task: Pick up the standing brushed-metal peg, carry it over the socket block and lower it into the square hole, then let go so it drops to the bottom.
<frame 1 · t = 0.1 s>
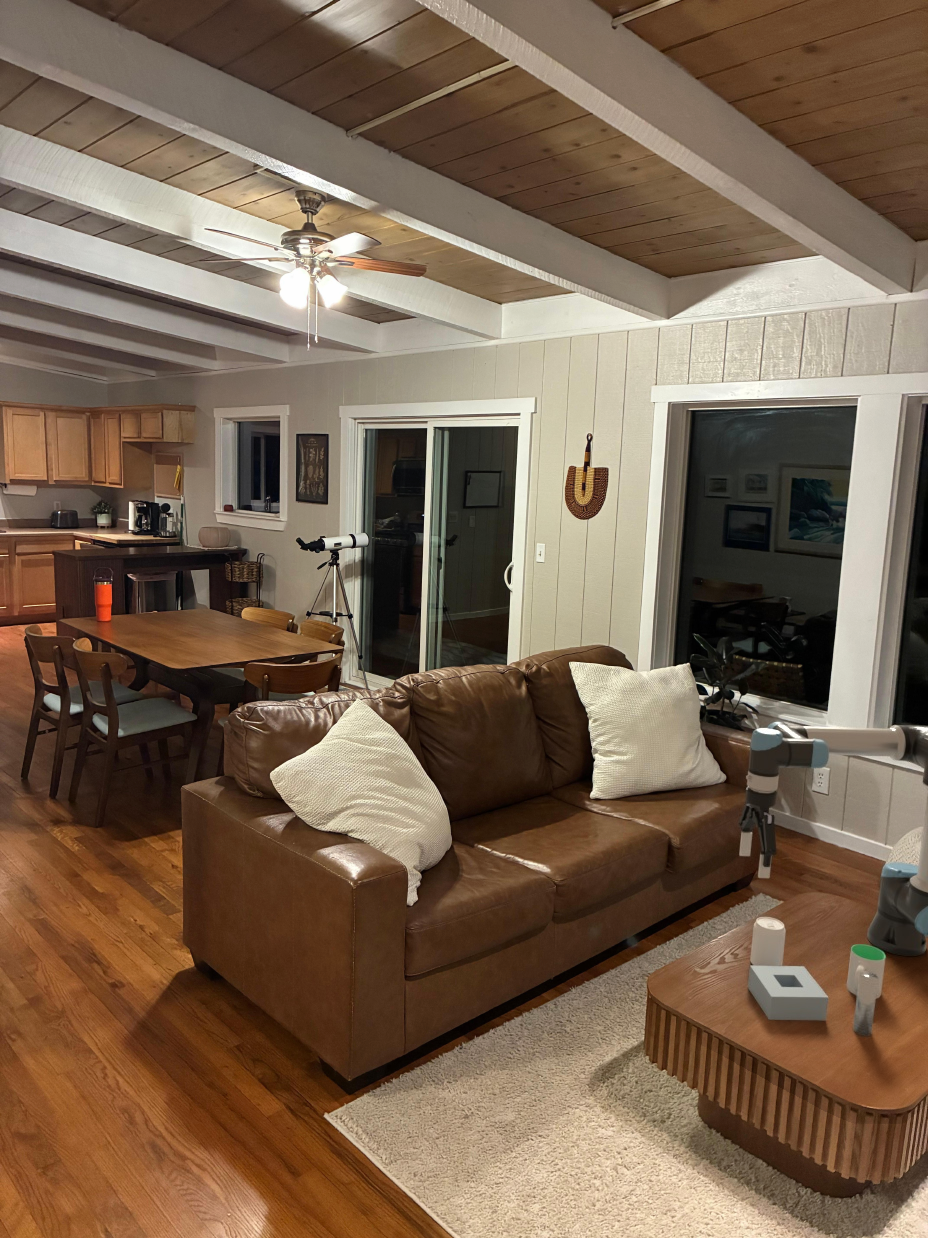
hand: (753, 866, 238), 28 cm above the table, fingers open, 13 cm apart
socket block: (785, 1003, 225), on the table
peg: (862, 1031, 215), on the table
beverage can: (765, 966, 243), on the table
mug: (861, 994, 231), on the table
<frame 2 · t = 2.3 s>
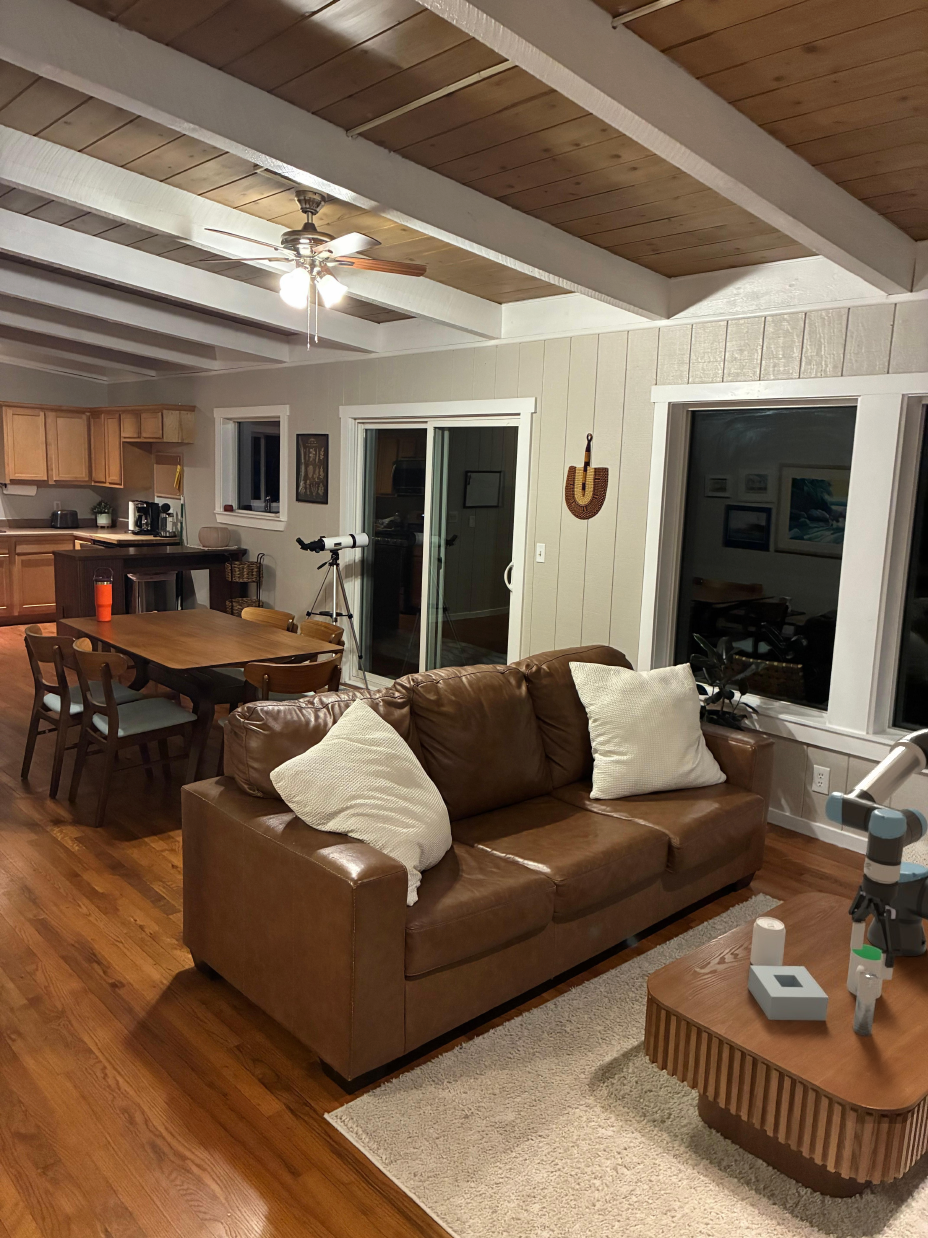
hand: (870, 963, 212), 17 cm above the table, fingers open, 13 cm apart
nothing on the table moved.
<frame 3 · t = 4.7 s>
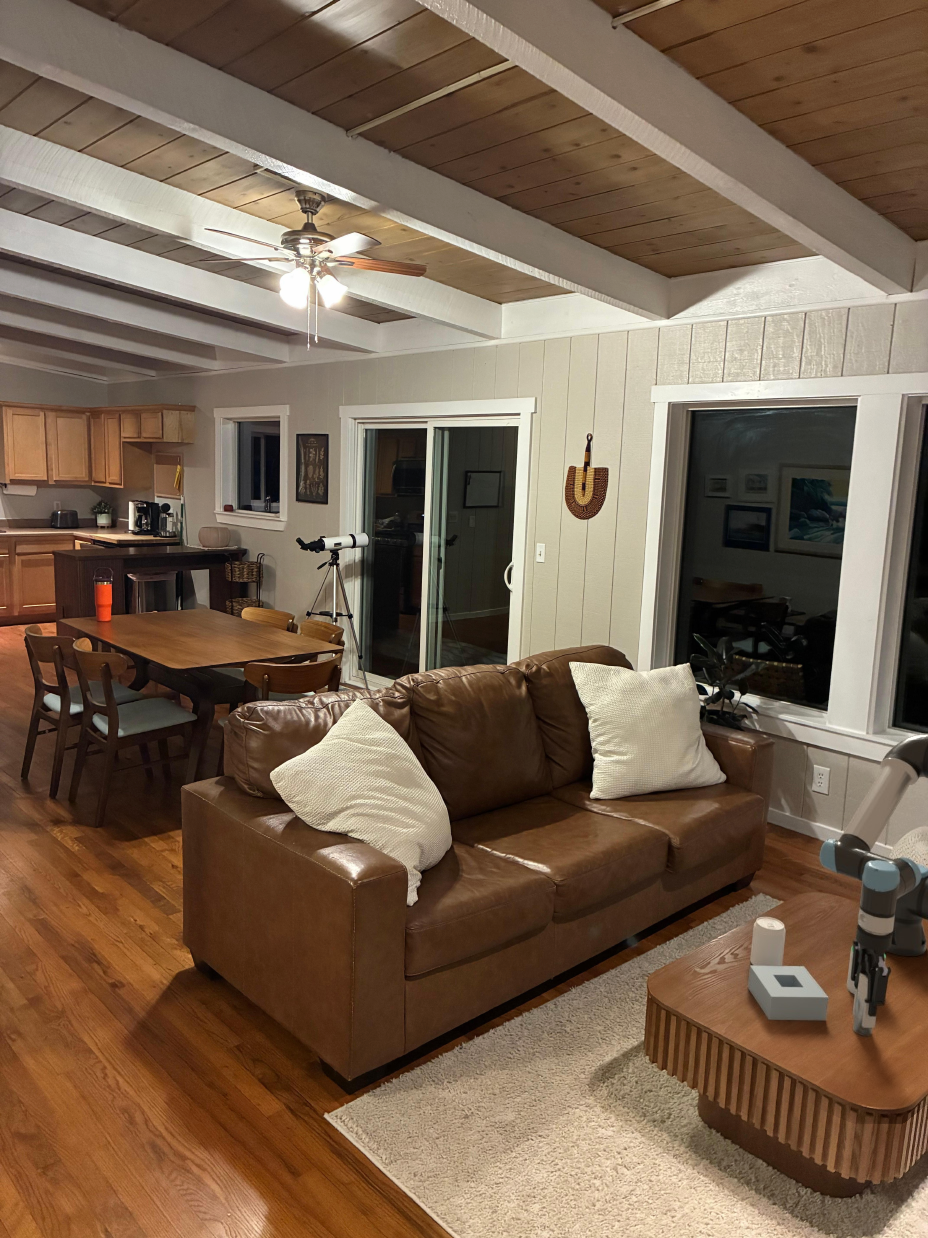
hand: (863, 1020, 214), 3 cm above the table, fingers closed on peg, 4 cm apart
peg: (862, 1031, 215), on the table, touching gripper
everything else where it was.
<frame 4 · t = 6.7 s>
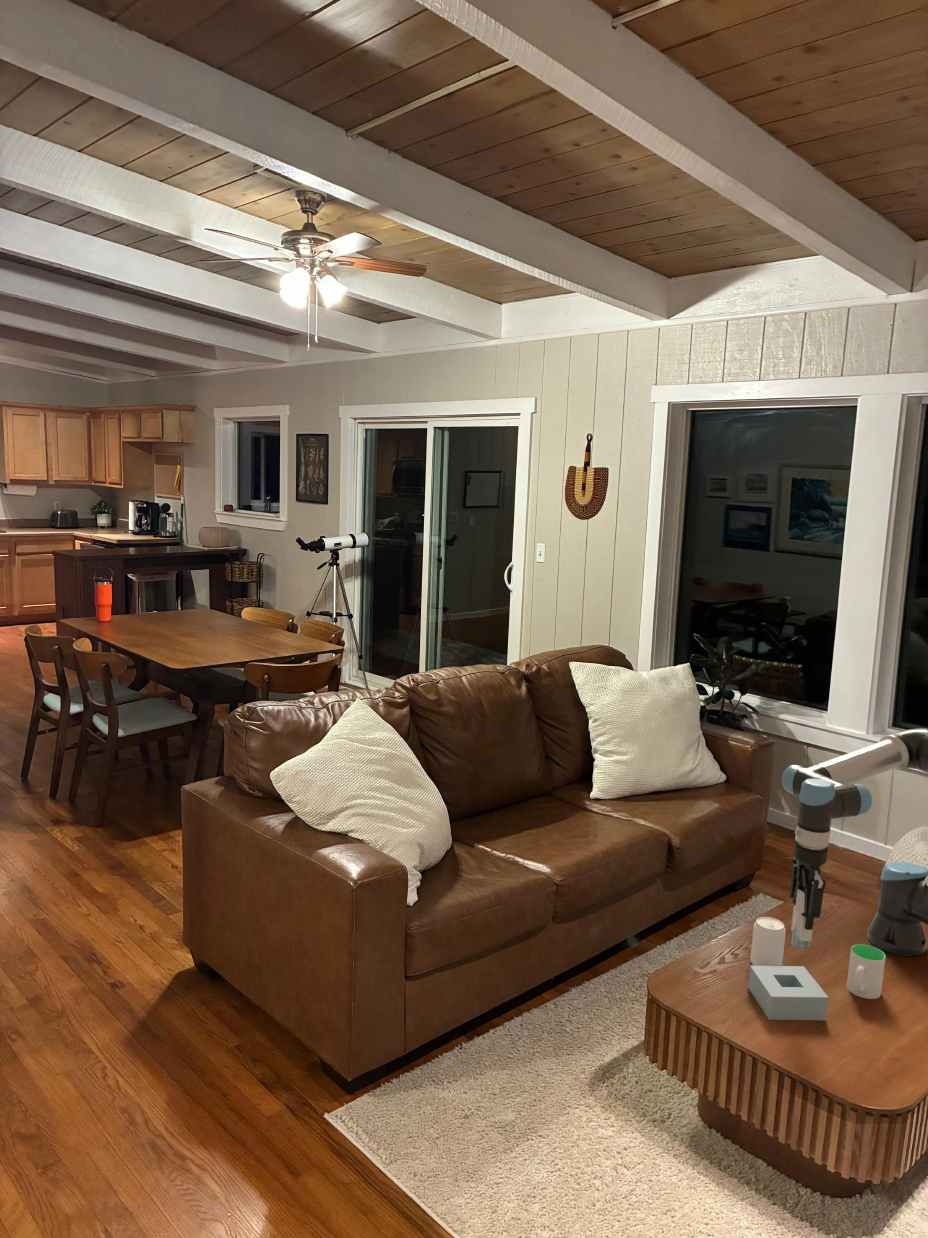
hand: (801, 935, 221), 19 cm above the table, fingers closed on peg, 4 cm apart
peg: (799, 945, 221), point 16 cm above the table, touching gripper
everything else where it was.
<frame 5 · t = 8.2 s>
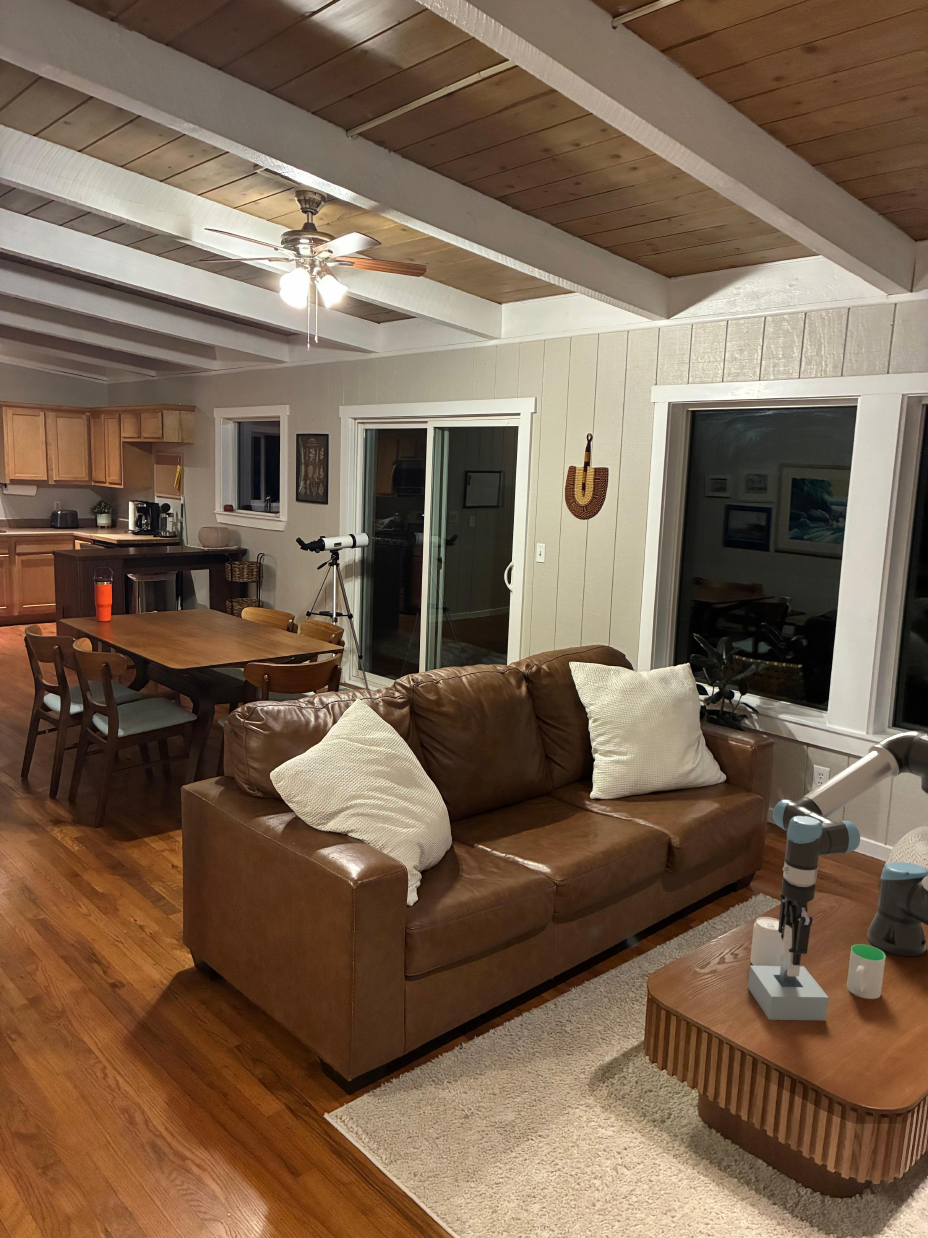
hand: (789, 970, 224), 9 cm above the table, fingers closed on peg, 4 cm apart
peg: (787, 980, 224), point 6 cm above the table, touching gripper
everything else where it was.
when the fingers open (7 cm above the table, at t = 9.1 s): peg drops 3 cm, resting on socket block.
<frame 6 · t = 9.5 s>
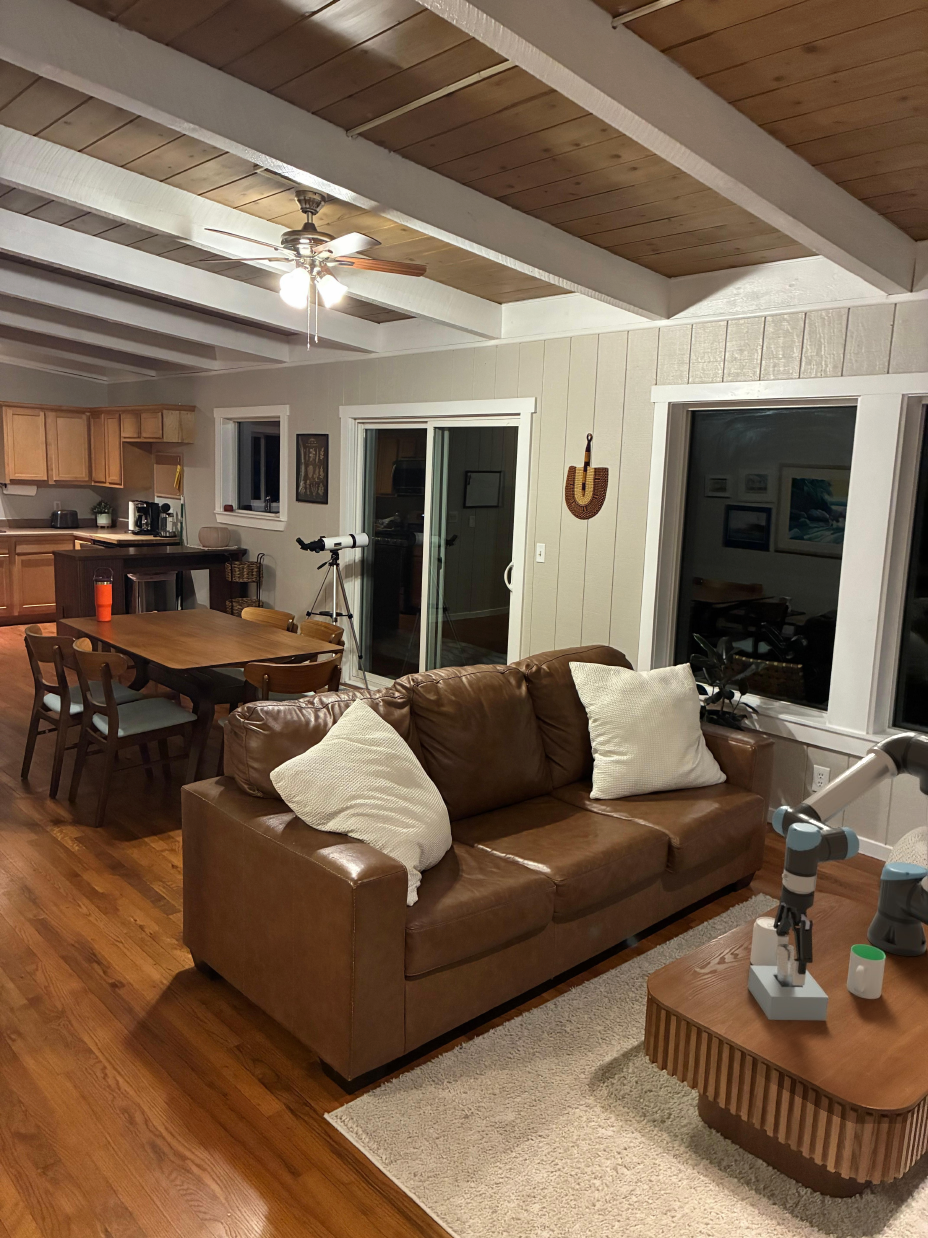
hand: (789, 972, 224), 8 cm above the table, fingers open, 10 cm apart
peg: (785, 1001, 225), point 1 cm above the table, tilted 5°, touching socket block
everything else where it was.
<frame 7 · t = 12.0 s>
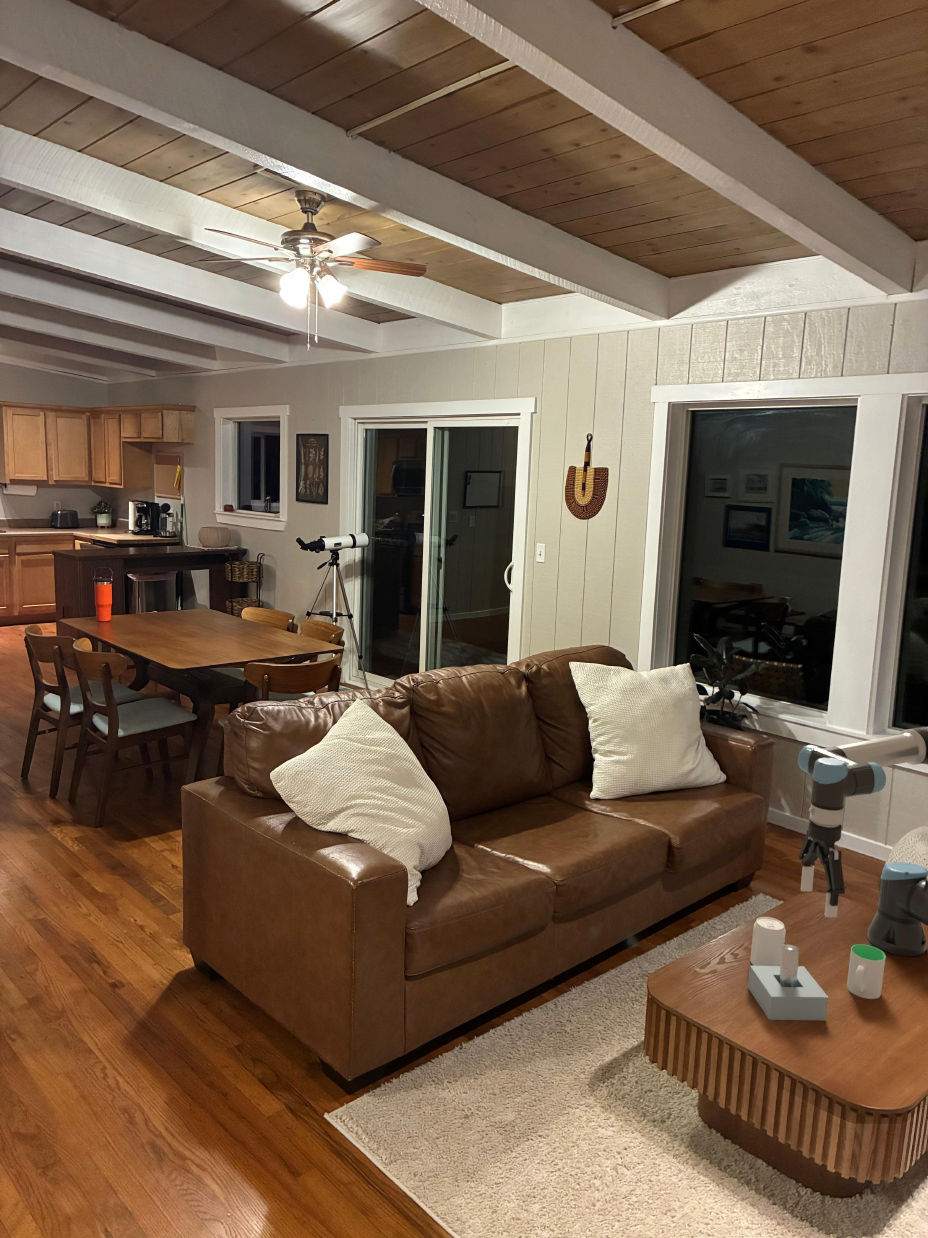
hand: (818, 903, 225), 25 cm above the table, fingers open, 13 cm apart
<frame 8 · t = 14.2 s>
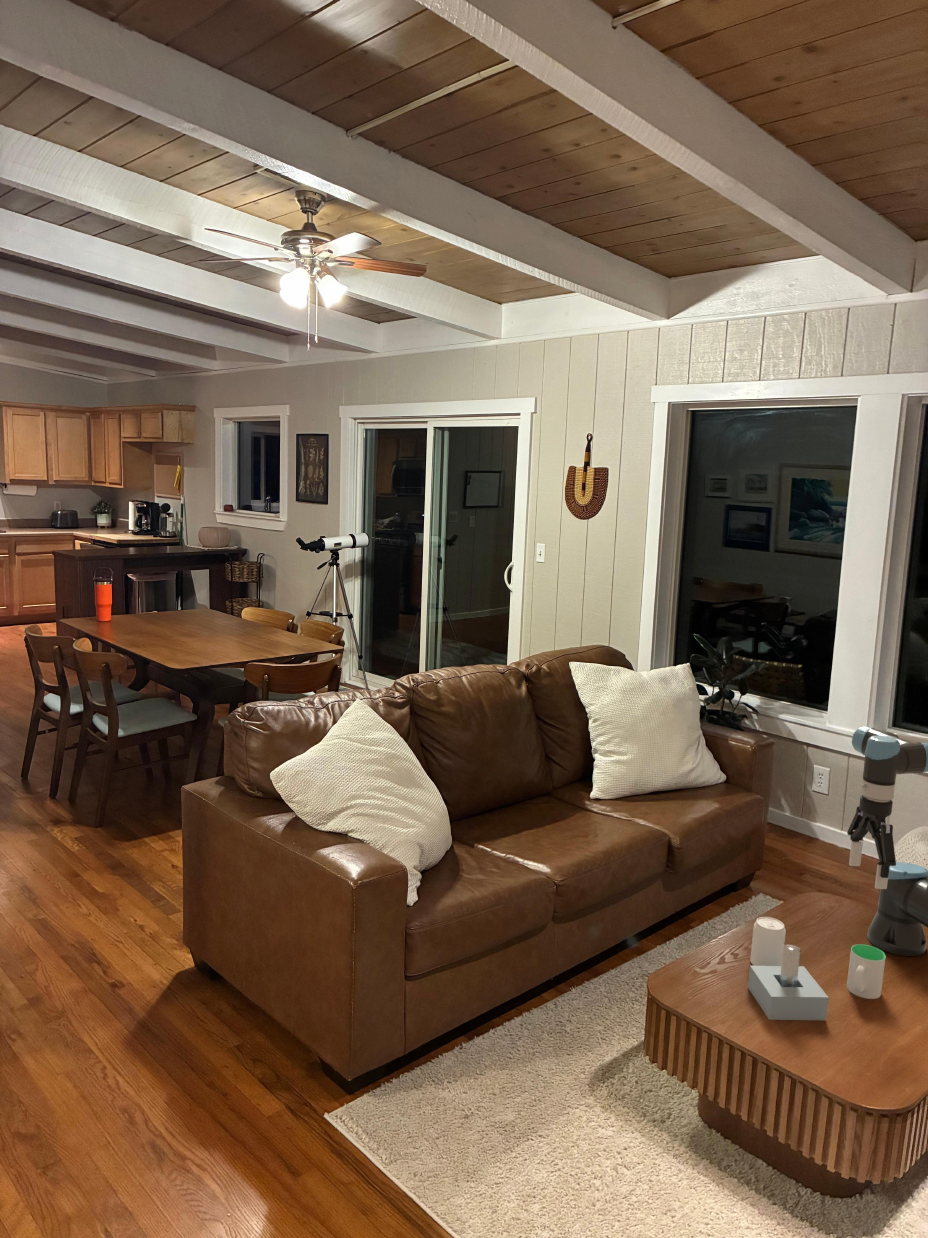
hand: (867, 876, 233), 29 cm above the table, fingers open, 13 cm apart
nothing on the table moved.
at the end: peg 0.0 cm off-centre on the socket block, point 0.4 cm above the socket block's base; peg tilted 1°; the gripper is holding nothing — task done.
